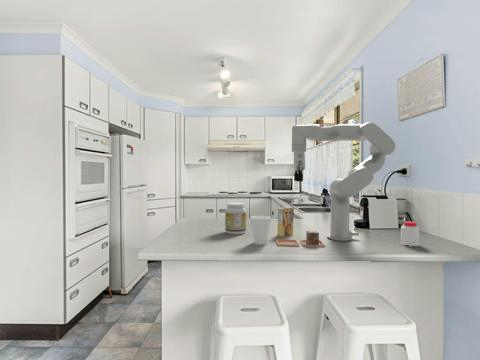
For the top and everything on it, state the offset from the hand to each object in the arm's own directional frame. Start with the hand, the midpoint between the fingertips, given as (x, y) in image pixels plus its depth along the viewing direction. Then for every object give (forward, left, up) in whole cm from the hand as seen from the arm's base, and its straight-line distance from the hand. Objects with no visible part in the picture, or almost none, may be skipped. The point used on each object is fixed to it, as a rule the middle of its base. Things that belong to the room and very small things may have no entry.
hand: (298, 181), depth 155 cm
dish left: (-5, +15, -30) cm, 34 cm away
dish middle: (+7, +15, -30) cm, 34 cm away
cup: (+20, +15, -31) cm, 39 cm away
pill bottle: (-53, +10, -31) cm, 62 cm away
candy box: (+6, -5, -31) cm, 32 cm away
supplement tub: (+34, -10, -31) cm, 47 cm away
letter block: (-5, +15, -30) cm, 34 cm away
